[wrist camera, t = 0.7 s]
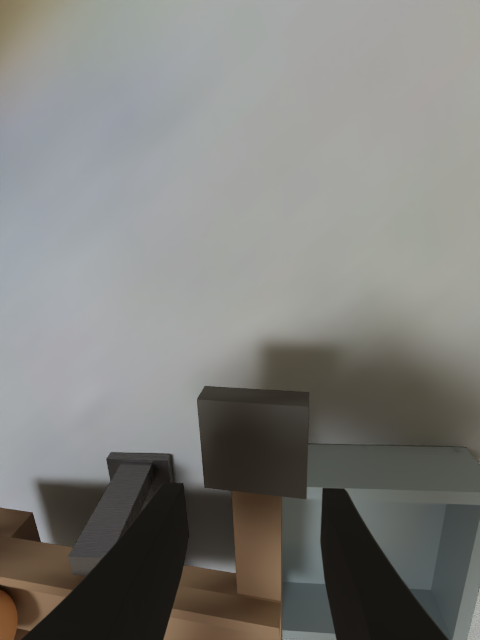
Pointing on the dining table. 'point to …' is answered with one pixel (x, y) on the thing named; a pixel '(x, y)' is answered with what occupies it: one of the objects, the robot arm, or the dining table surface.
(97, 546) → the stand
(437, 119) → the dining table surface
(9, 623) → the ball
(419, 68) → the dining table surface
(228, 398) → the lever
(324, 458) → the tray
